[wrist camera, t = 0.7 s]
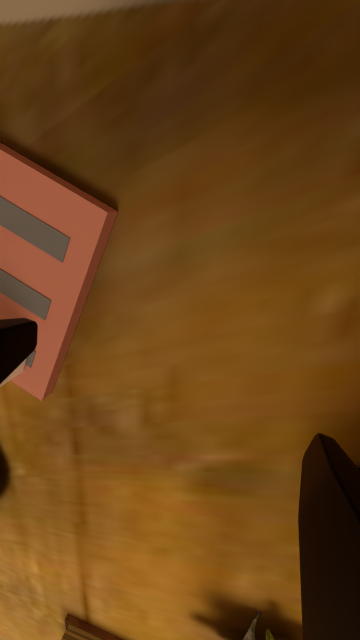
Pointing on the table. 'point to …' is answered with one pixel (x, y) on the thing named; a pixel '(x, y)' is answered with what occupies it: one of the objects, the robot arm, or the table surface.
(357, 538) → the robot arm
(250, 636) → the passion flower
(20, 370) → the cream tall block
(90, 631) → the diary
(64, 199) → the switch bank
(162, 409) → the table surface
